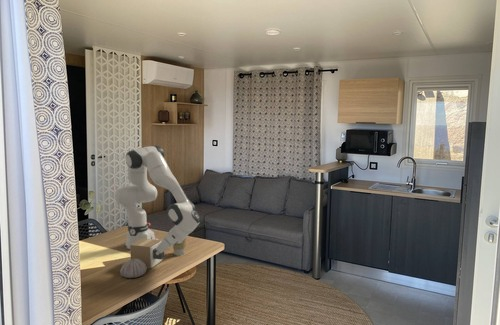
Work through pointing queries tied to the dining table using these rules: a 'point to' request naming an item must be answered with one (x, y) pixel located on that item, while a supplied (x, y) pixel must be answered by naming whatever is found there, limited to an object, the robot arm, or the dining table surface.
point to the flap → (153, 257)
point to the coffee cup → (180, 248)
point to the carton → (143, 250)
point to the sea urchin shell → (133, 268)
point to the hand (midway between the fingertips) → (161, 250)
